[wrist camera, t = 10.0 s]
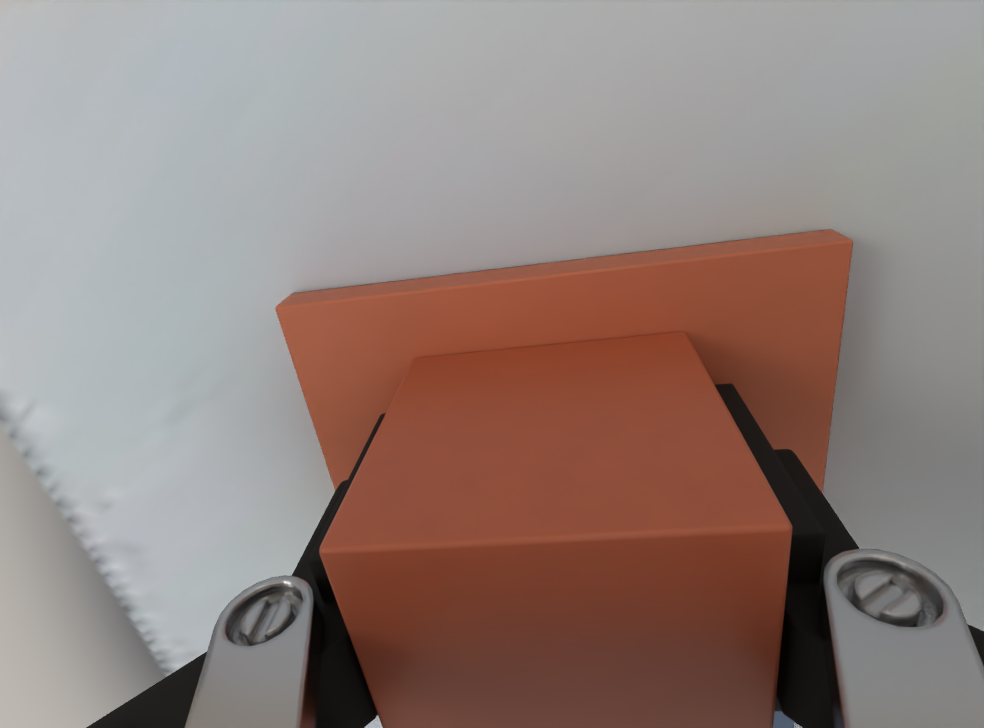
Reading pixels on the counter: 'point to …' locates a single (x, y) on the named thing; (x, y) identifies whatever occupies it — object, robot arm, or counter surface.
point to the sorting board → (592, 331)
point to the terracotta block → (563, 545)
